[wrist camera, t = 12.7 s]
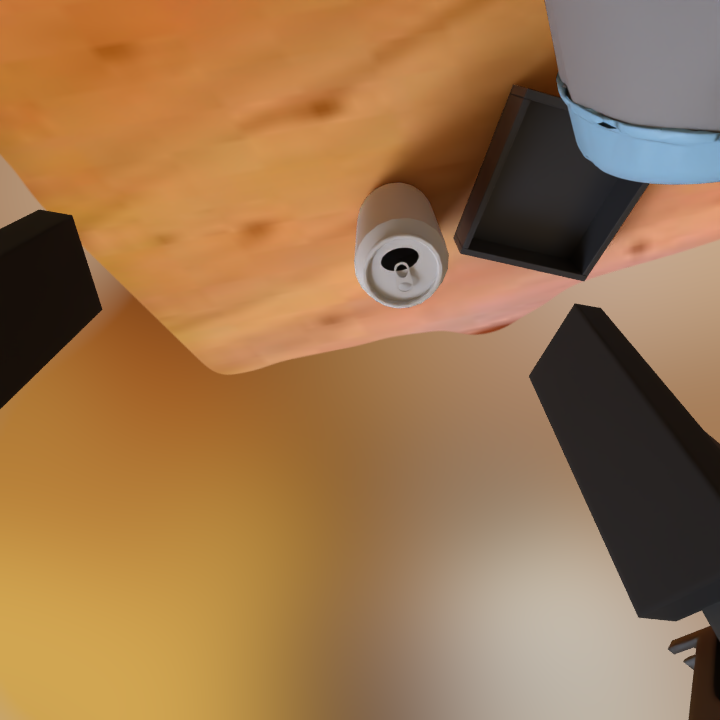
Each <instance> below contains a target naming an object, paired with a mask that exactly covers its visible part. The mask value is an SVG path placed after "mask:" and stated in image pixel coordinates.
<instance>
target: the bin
mask: <svg viewBox="0 0 720 720" xmlns="http://www.w3.org/2000/svg"><path fill="white" fill-rule="evenodd" d="M649 184H650V183H642V182H636V181H630V180H626V179H622V178H619V177H615V176H613V175H610V174H608V173H605V172H603V171H602V170H600V169H599V168H598V167H597V166H595V165H594V163H593V162H592V161H590V160H588V159H586V158H585V157H584V156H583V154H582V152H581V151H580V149H579V147H578V145H577V142H576V138H575V134H574V130H573V126H572V122H571V118H570V114H569V110H568V107H567V105H566V104H565V102H564V101H563V100H562V98H560V97H556V96H553V95H549V94H546V93H542V92H539V91H535V90H532V89H528V88H525V87H521V86H517V85H513V86H512V89H511V91H510V94H509V96H508V99H507V101H506V104H505V107H504V109H503V112H502V114H501V117H500V119H499V122H498V125H497V127H496V130H495V132H494V135H493V137H492V140H491V143H490V145H489V148H488V150H487V153H486V155H485V158H484V161H483V163H482V166H481V168H480V171H479V173H478V176H477V179H476V181H475V184H474V186H473V189H472V191H471V194H470V197H469V199H468V202H467V204H466V207H465V209H464V212H463V215H462V217H461V220H460V222H459V225H458V227H457V230H456V233H455V235H454V240H455V243H456V245H457V247H458V250H459V252H460V253H461V254H465V255H470V256H474V257H478V258H483V259H487V260H492V261H496V262H501V263H505V264H510V265H514V266H519V267H523V268H527V269H532V270H536V271H541V272H545V273H550V274H554V275H559V276H563V277H567V278H572V279H576V280H581V281H585V279H586V278H587V276H588V275H589V273H590V272H591V270H592V269H593V267H594V266H595V264H596V263H597V261H598V260H599V258H600V257H601V255H602V254H603V252H604V251H605V249H606V248H607V246H608V245H609V243H610V242H611V241H612V239H613V238H614V236H615V235H616V233H617V232H618V230H619V229H620V227H621V226H622V224H623V223H624V221H625V220H626V218H627V217H628V215H629V214H630V212H631V211H632V209H633V208H634V206H635V205H636V203H637V202H638V200H639V199H640V197H641V196H642V194H643V193H644V191H645V190H646V188H647V187H648V185H649Z"/></svg>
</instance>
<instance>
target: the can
mask: <svg viewBox="0 0 720 720" xmlns="http://www.w3.org/2000/svg"><path fill="white" fill-rule="evenodd" d="M448 257H449V254H448V251H447V248H446V244H445V241H444V238H443V236H442V233H441V230H440V228H439V225H438V223H437V220H436V217H435V215H434V212H433V210H432V207H431V204H430V202H429V201H428V199H427V198H426V196H425V195H424V194H423V192H421V191H420V190H418V189H417V188H415V187H414V186H412V185H408V184H404V183H389V184H386V185H383V186H381V187H379V188H377V189H375V190H374V191H373V192H372V193H371V194H370V195H368V196H367V197H366V199H365V201H364V202H363V204H362V206H361V207H360V211H359V215H358V220H357V232H356V246H355V260H354V264H355V273H356V277H357V279H358V281H359V283H360V285H361V287H362V288H363V289H364V290H365V291H366V292H367V293H368V295H369V296H370V297H372V298H374V299H375V300H376V301H377V302H379V303H381V304H383V305H385V306H389V307H393V308H409V307H412V306H415V305H418V304H421V303H422V302H424V301H425V300H426V299H428V298H429V297H431V296H432V294H433V293H434V292H435V291H436V289H437V288H438V287H439V285H440V284H441V283H442V281H443V279H444V277H445V274H446V272H447V269H448Z"/></svg>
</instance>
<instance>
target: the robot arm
mask: <svg viewBox="0 0 720 720" xmlns="http://www.w3.org/2000/svg"><path fill="white" fill-rule="evenodd" d="M545 5H546V10H547V15H548V20H549V25H550V30H551V35H552V41H553V46H554V51H555V56H556V61H557V66H558V74H557V77H556V81H557V86H558V91H559V94H560V96H561V98H562V100H563V101H564V102H565V104H566V105H567V107H568V110H569V114H570V118H571V122H572V126H573V130H574V134H575V138H576V142H577V145H578V147H579V149H580V151H581V152H582V154H583V156H584V157H585V158H586V159H588V160H590V161H592V162H593V163H594V165H595V166H597V167H598V168H599V169H600V170H602V171H603V172H605V173H608V174H610V175H613V176H615V177H619V178H622V179H626V180H630V181H636V182H642V183H651V184H701V183H712V182H720V0H545ZM101 310H102V307H101V304H100V301H99V298H98V294H97V291H96V288H95V285H94V282H93V279H92V276H91V272H90V269H89V266H88V263H87V260H86V257H85V254H84V251H83V247H82V244H81V241H80V238H79V235H78V232H77V229H76V226H75V222H74V219H73V216H72V215H67V214H61V213H56V212H50V211H44V210H37V211H35V212H33V213H32V214H29V215H27V216H26V217H23V218H21V219H19V220H17V221H15V222H13V223H11V224H9V225H7V226H5V227H3V228H1V229H0V409H1V408H2V407H3V406H4V405H5V404H6V403H7V402H8V401H9V400H10V399H11V398H12V397H13V396H14V395H15V394H16V393H17V392H18V391H19V390H20V389H21V388H22V387H23V386H24V385H25V384H27V383H28V382H29V381H30V379H32V378H33V377H34V376H35V375H36V374H37V373H38V372H39V371H40V370H41V369H42V368H43V367H44V366H45V365H46V364H47V363H48V362H49V361H50V360H51V359H52V358H53V357H54V356H55V355H56V354H57V353H58V352H59V351H60V350H61V349H62V348H63V347H64V346H65V345H66V344H67V343H68V342H70V341H71V340H72V338H74V337H75V336H76V335H77V334H78V333H79V332H80V331H81V330H82V329H83V328H84V327H85V326H86V325H87V324H88V323H89V322H90V321H91V320H92V319H93V318H94V317H95V316H96V315H97V314H98V313H99V312H100V311H101ZM529 378H530V380H531V382H532V384H533V386H534V388H535V391H536V393H537V395H538V397H539V399H540V402H541V404H542V406H543V408H544V411H545V413H546V415H547V417H548V419H549V422H550V424H551V426H552V428H553V430H554V432H555V435H556V437H557V439H558V441H559V443H560V446H561V448H562V450H563V452H564V455H565V457H566V459H567V461H568V463H569V465H570V468H571V470H572V472H573V474H574V477H575V479H576V481H577V483H578V485H579V488H580V490H581V492H582V494H583V496H584V499H585V501H586V503H587V505H588V507H589V510H590V512H591V514H592V516H593V518H594V521H595V523H596V525H597V527H598V529H599V532H600V534H601V536H602V538H603V540H604V542H605V545H606V547H607V549H608V551H609V554H610V556H611V558H612V560H613V562H614V565H615V567H616V569H617V571H618V573H619V576H620V578H621V580H622V582H623V584H624V587H625V588H626V591H627V593H628V595H629V598H630V600H631V602H632V604H633V606H634V609H635V611H636V613H637V615H638V617H639V618H649V619H658V620H668V621H678V620H680V619H682V618H685V617H687V616H690V615H692V614H694V613H696V612H699V611H701V610H702V611H703V613H704V615H705V617H706V618H707V620H708V622H709V624H710V625H711V626H709V627H706V628H704V629H701V630H698V631H696V632H694V633H691V634H688V635H686V636H683V637H681V638H678V639H675V640H673V641H672V642H671V644H670V646H669V648H668V650H669V651H671V652H672V653H673V654H676V653H679V652H682V651H685V650H688V649H691V648H693V647H694V648H696V655H693V656H690V657H688V658H686V659H685V660H684V663H686V664H687V665H688V666H689V667H691V668H692V669H693V670H694V675H693V683H692V694H691V702H690V713H689V720H720V444H719V443H718V442H717V441H716V440H715V439H713V438H712V437H711V436H709V435H708V434H707V433H706V432H705V431H704V430H703V429H702V428H701V427H700V425H699V424H698V423H697V422H696V421H695V419H694V418H693V417H692V416H691V415H690V414H689V412H688V411H687V410H686V409H685V408H684V406H683V405H682V404H681V403H680V402H679V400H678V399H677V398H676V397H675V396H674V394H673V393H672V392H671V391H670V390H669V389H668V387H667V386H666V385H665V384H664V383H663V381H662V380H661V379H660V378H659V377H658V376H657V374H656V373H655V372H654V371H653V370H652V368H651V367H650V366H649V365H648V364H647V362H646V361H645V360H644V359H643V358H642V356H641V355H640V354H639V353H638V352H637V350H636V349H635V348H634V347H633V346H632V345H631V343H630V342H629V341H628V340H627V339H626V337H625V336H624V335H623V334H622V333H621V331H620V330H619V329H618V328H617V327H616V326H615V324H614V323H613V322H612V321H611V320H610V318H609V317H608V316H607V315H606V314H605V312H604V311H603V310H602V309H601V308H597V307H591V306H586V305H580V304H574V306H573V307H572V309H571V311H570V312H569V314H568V315H567V317H566V318H565V320H564V321H563V323H562V325H561V326H560V328H559V329H558V331H557V332H556V334H555V336H554V337H553V339H552V340H551V342H550V344H549V345H548V347H547V348H546V350H545V352H544V353H543V355H542V356H541V358H540V359H539V361H538V362H537V364H536V366H535V367H534V369H533V371H532V372H531V374H530V375H529Z"/></svg>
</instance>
